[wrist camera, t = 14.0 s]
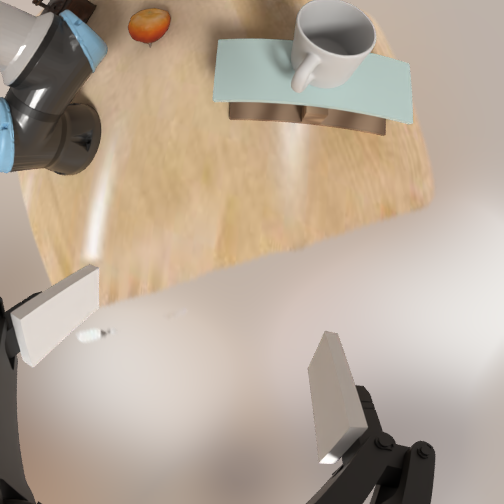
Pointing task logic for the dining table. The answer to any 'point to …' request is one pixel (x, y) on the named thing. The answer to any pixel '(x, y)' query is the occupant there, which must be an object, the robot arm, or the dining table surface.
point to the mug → (329, 43)
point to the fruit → (149, 25)
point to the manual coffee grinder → (68, 7)
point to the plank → (279, 85)
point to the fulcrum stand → (307, 116)
